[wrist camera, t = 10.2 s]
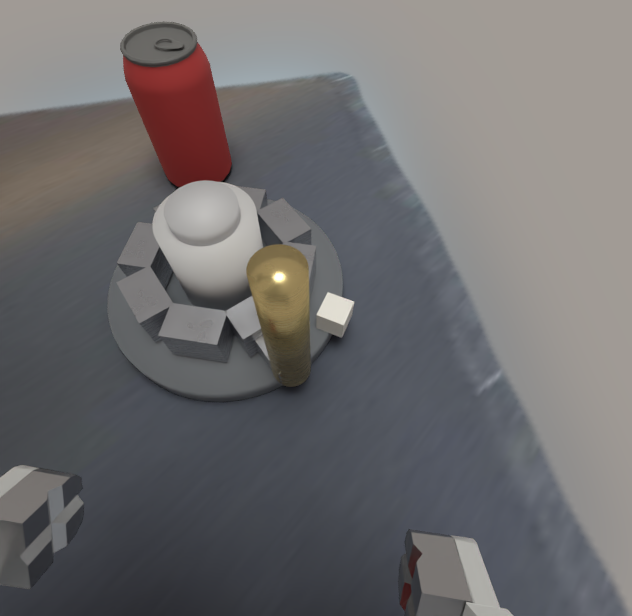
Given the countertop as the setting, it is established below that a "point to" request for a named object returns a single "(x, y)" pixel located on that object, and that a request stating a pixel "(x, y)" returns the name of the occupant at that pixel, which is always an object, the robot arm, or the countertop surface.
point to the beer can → (177, 101)
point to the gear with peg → (244, 318)
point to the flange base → (238, 360)
